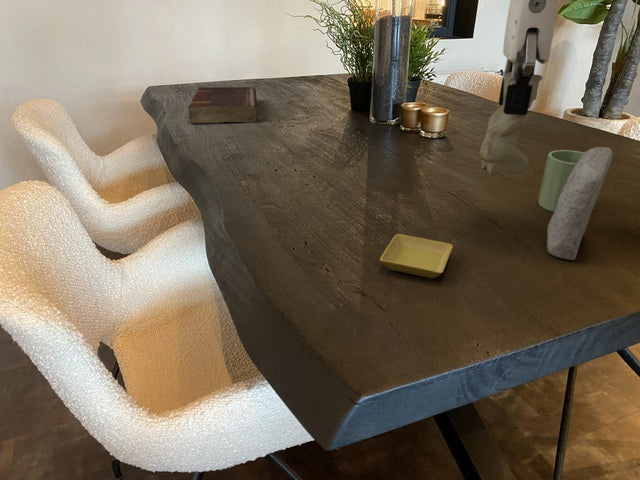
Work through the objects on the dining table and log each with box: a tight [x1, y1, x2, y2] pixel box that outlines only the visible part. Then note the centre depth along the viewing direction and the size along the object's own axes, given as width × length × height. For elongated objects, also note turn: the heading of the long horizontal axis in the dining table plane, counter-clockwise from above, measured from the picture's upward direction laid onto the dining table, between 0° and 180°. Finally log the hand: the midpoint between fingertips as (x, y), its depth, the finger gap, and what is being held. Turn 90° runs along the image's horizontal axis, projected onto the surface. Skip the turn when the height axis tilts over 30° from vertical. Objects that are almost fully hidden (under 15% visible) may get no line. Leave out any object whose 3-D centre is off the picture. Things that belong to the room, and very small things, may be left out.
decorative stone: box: [546, 146, 614, 261], centre depth 71 cm, size 11×6×15 cm, turn 150°
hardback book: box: [188, 86, 258, 124], centre depth 151 cm, size 29×19×5 cm, turn 7°
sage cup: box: [537, 149, 585, 213], centre depth 86 cm, size 8×8×9 cm
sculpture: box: [478, 71, 543, 176], centre depth 73 cm, size 6×7×15 cm
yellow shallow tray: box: [379, 233, 454, 279], centre depth 69 cm, size 9×9×2 cm
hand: (512, 108), depth 72 cm, fingers closed on sculpture, 5 cm apart
